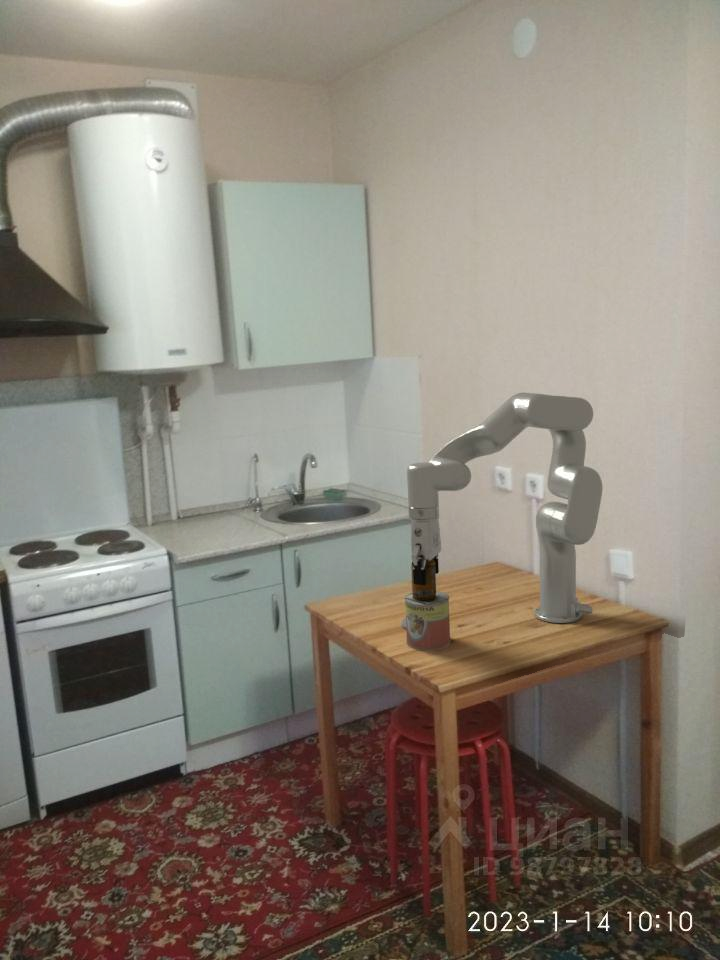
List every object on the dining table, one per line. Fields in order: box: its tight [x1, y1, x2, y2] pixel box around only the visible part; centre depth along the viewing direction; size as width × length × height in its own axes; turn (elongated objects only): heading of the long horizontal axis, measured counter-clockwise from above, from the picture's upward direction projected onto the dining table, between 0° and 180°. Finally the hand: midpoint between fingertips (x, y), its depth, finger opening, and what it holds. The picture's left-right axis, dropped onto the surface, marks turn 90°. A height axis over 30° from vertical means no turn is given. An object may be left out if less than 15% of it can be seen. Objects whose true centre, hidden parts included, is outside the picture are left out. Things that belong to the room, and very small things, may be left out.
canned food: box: [404, 590, 452, 652], centre depth 202 cm, size 11×11×12 cm
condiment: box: [405, 556, 448, 604], centre depth 199 cm, size 7×8×12 cm
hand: (426, 578), depth 200 cm, fingers open, 9 cm apart
